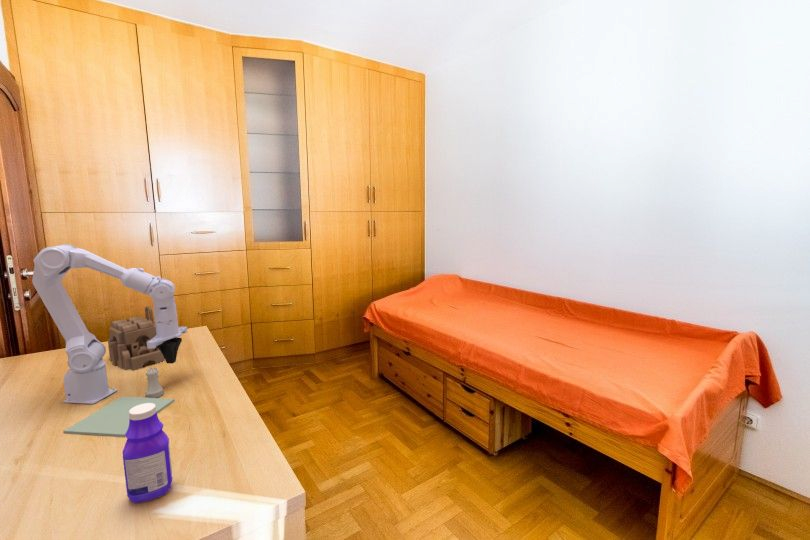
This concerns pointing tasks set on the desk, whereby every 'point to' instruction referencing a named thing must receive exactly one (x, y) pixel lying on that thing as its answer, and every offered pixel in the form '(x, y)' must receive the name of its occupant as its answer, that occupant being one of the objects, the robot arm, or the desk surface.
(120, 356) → the wooden puzzle
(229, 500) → the desk surface
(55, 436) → the desk surface
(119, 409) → the mat
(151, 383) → the rook chess piece
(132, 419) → the bottle
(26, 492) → the desk surface
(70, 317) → the robot arm
